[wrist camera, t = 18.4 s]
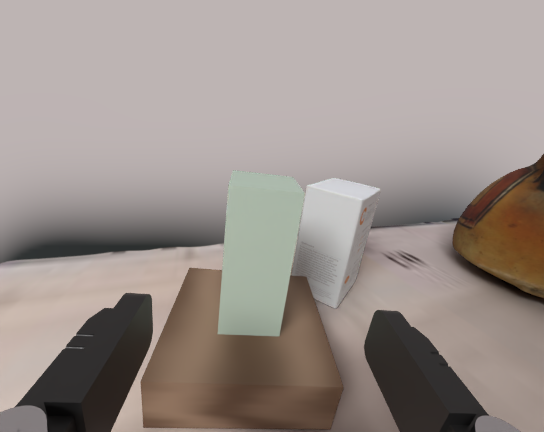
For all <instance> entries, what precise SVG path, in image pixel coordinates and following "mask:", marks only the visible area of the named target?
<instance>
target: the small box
mask: <svg viewBox="0 0 544 432" xmlns="http://www.w3.org/2000/svg"><path fill="white" fill-rule="evenodd" d="M380 191H381V189H379V188H375V187H372V186H368V185H364V184H360V183H356V182H351V181H346V180H342V179H337V178H332V179H328V180H324V181H321V182H318V183H314V184H311V185H307V186H306V193H305V199H304V204H303V210H302V216H301V222H300V228H299V234H298V239H297V245H296V251H295V257H294V262H293V268H292V274H291V275H292V276H305V277H307V280H308V283H309V286H310V289H311V292H312V295H313V298H314V299H316V300H318V301H320V302H322V303H324V304H326V305H328V306H330V307H332V308H335V309H336V308H337V307H338V305H339V304H340V303H341V301H342V300H343V298H344V297H345V295H346V294H347V292H348V291H349V290H350V288H351V287H352V285H353V284H354V282H355V281H356V278H357V274H358V271H359V267H360V263H361V259H362V255H363V252H364V248H365V245H366V241H367V238H368V234H369V231H370V227H371V224H372V220H373V217H374V213H375V209H376V206H377V202H378V198H379V195H380Z"/></svg>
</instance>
